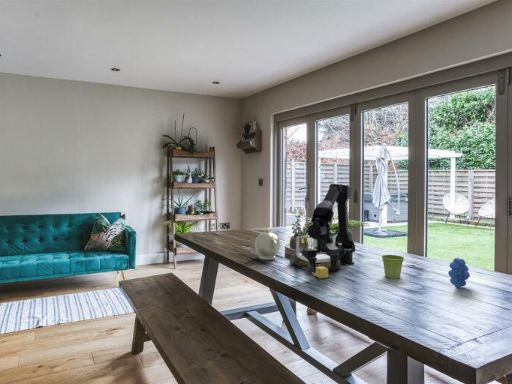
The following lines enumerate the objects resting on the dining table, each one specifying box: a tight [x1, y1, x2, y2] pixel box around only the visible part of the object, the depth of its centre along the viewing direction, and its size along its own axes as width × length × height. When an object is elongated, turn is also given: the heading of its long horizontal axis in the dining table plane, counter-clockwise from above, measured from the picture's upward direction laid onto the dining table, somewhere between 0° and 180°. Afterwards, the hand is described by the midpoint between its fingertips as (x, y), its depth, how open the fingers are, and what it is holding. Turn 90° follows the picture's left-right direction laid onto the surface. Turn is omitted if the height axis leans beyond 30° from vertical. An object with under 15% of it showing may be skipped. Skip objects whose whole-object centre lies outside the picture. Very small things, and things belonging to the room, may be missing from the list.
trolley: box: [289, 234, 342, 274], centre depth 178 cm, size 21×15×14 cm
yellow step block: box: [312, 265, 329, 279], centre depth 162 cm, size 4×6×4 cm, turn 24°
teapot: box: [254, 227, 281, 261], centre depth 195 cm, size 18×14×16 cm
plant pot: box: [380, 254, 405, 280], centre depth 160 cm, size 9×9×9 cm
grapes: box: [447, 257, 471, 289], centre depth 142 cm, size 12×7×12 cm, turn 123°
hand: (323, 271), depth 159 cm, fingers open, 9 cm apart
